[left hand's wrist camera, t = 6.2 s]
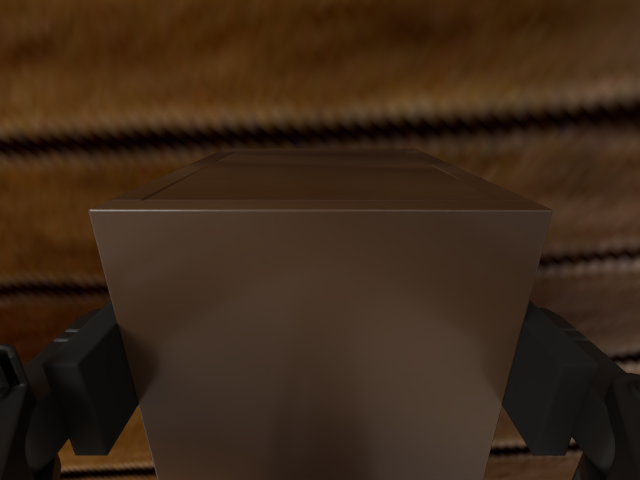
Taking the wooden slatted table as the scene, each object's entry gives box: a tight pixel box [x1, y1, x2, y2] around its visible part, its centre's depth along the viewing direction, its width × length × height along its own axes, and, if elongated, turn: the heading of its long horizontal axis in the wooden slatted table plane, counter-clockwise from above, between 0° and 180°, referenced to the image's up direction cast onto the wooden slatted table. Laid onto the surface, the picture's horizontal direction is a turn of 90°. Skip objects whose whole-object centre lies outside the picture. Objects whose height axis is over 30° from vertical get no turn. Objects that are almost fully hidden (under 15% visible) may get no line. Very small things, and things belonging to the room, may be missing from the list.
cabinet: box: [89, 149, 552, 480], centre depth 16 cm, size 17×10×11 cm, turn 0°
